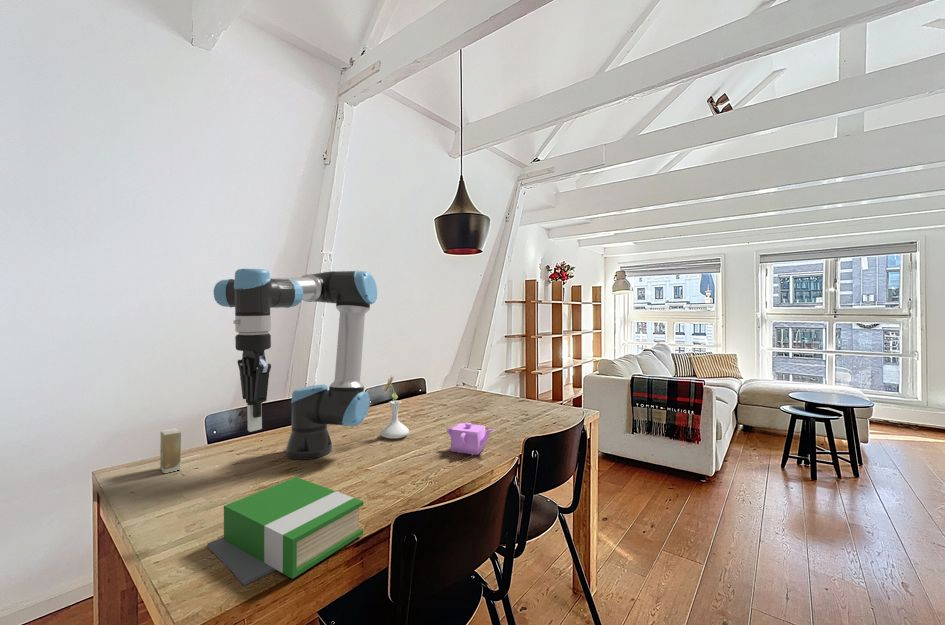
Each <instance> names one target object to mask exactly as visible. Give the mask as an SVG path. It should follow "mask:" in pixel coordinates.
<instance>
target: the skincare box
mask: <svg viewBox="0 0 945 625" xmlns="http://www.w3.org/2000/svg"><path fill="white" fill-rule="evenodd" d="M159 447H160V449H159V450H160V455H159V456H160V459H159V460H160V461H159V468H160V471H161V470H162V471H161V472H162V473H168V472H172V473H174V472H173V471H176V472H178V471H177V470H180V471H181V470H182V469H181V468H182V466H181V463H182V462H181V461H182V458H181V457H182V451H181V450H182V431H180V430H179V429H178V428H177V427H174V428H168V429H163V430H160V446H159ZM168 474H169V473H168Z"/></svg>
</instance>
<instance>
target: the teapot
mask: <svg viewBox="0 0 945 625" xmlns="http://www.w3.org/2000/svg"><path fill="white" fill-rule="evenodd" d="M493 431H495V429H492V428H489V429H487V430H486V426H485V425H483V424H482V425H481V424H480V425H479V424H473V423H471V422H466V423H464V422H463V423H461V422H460V423H458V424H456V425H455V426H451V427H448V428H447V429H446V433H447V434H448V436H450V452H454V453H457V452H458V453H461V454H467V455H470V454H475V455H474V456H477V455H479V454H480V453H481V452H482V451H483V450H484V448H485V447H486V443H487V441H488V439H489V437H490V436H489V435H490V434H491V433H492V432H493ZM458 453H457V454H458Z"/></svg>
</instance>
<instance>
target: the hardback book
mask: <svg viewBox="0 0 945 625" xmlns="http://www.w3.org/2000/svg"><path fill="white" fill-rule="evenodd" d="M363 506H364V500H361V499H358V498H356V497H353V496H350V495H348V494H345V493H342V492H339V491H337V490H333V489H332V488H328V487H326V486H322V485H319V484H318V483H317V484H316V483H314V482H312V481H308V480H306V479H303V478H300V477H298V476H294V477H293V478H290V479H288V480H285V481H283V482H280V483H277V484H275V485H273V486H270V487H267V488H265V489H263V490H259V491H258V492H255V493H252V494H250V495H248V496H244V497H242V498H239V499H237V500H234V501H232V502H229V503H227V504H224V505H223V537H224V540H225V541H227V542H229V543H231V544H232V545H234V546H236V547H238V548H239V549H241V550H243V551H245V552H246V553H248V554H250V555H252V556H253V557H255V558H257V559H259V560H260V561H262V562H264V563H266V564H267V565H269V566H271V567H273V568H274V569H276V570H275V571H277V572H279V573H282V574H283V575H285V576H287V577H288V578H290V579H291V580H294V578H297V577H298V576H300V575H301V574H303V573H304V572H306V571H307V570H309V569H310V568H312V567H314V566H315V565H317V564H319V563H320V562H321V561H323V560H324V559H327V557H330V556H331V555H332V554H334V553H336V552H337V551H339V550H340V549H342V548H344V547H345V546H347V545H348V544H349V543H351V542H353V541H355V540H356V539H357V538H359V537H361V536H363V535H364V529H362V528H360V508H361V507H363Z"/></svg>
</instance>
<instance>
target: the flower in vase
mask: <svg viewBox="0 0 945 625" xmlns="http://www.w3.org/2000/svg"><path fill="white" fill-rule="evenodd" d="M394 377H395V376H394V375H391V376H390V378H388V379H387V383H386V384H384V388H383V390H382V394H386V393H387V391H388V390H389V389H390V387H391V389H392V391H393V393H391V398H392V400H391V401H388V404H389V405H390V409H391V420H390V422H388V423H387V424H386V425H385V426H384V427H382V429H381V430H380V432H379V433H380V436H381V437H383V438H386V439H392V440H393V439H396V440H397V439H401V438H404V437H406V436H408V435H409V434H410V430H409V428H408V427H407V426H406V425H404V424H403V423H402V422H400V420H399V407H400V405H401V403H402V401H401V400H397V399H398V398H399V396H398V395H397V393H396V391H395V390H394V387H393V385H392V383H393V381H394Z"/></svg>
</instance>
